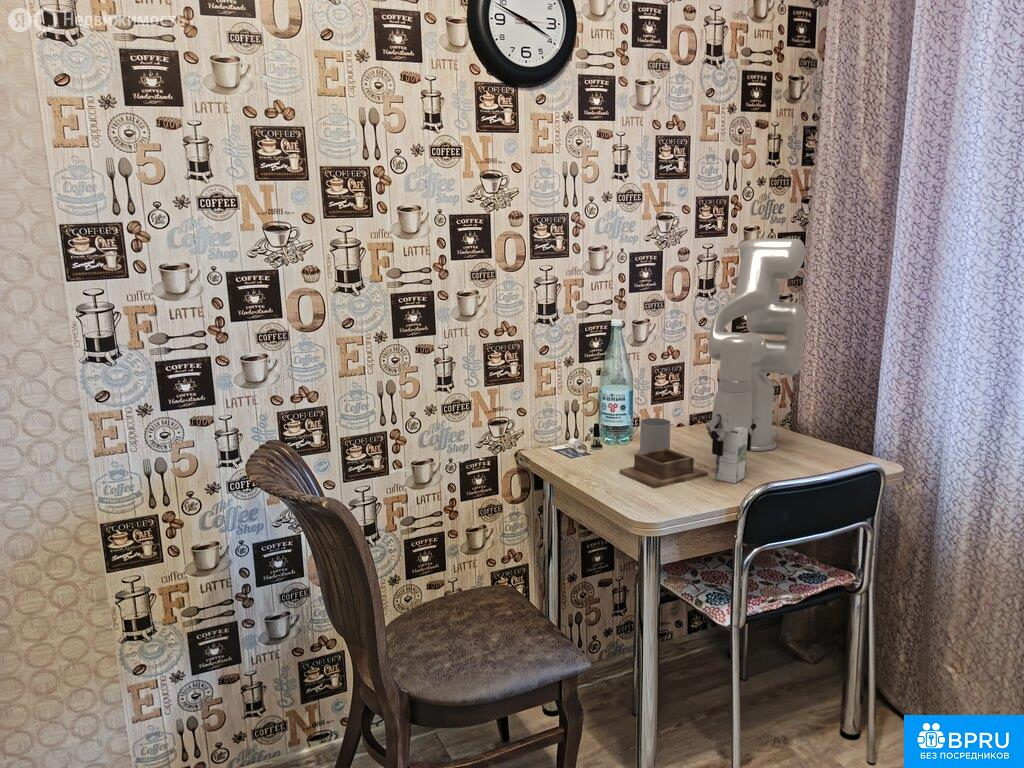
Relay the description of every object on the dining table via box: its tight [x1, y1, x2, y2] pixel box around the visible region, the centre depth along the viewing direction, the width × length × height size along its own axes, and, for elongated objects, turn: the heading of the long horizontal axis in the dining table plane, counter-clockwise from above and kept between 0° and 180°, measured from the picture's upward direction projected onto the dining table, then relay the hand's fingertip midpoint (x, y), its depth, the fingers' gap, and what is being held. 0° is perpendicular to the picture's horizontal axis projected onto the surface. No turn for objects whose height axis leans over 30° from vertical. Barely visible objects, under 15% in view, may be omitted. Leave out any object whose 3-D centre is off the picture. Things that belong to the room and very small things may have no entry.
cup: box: [639, 417, 671, 453], centre depth 213 cm, size 8×8×10 cm
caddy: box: [619, 448, 709, 489], centre depth 198 cm, size 18×14×5 cm
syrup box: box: [714, 427, 748, 484], centre depth 192 cm, size 6×6×14 cm
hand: (731, 452), depth 192 cm, fingers open, 9 cm apart
